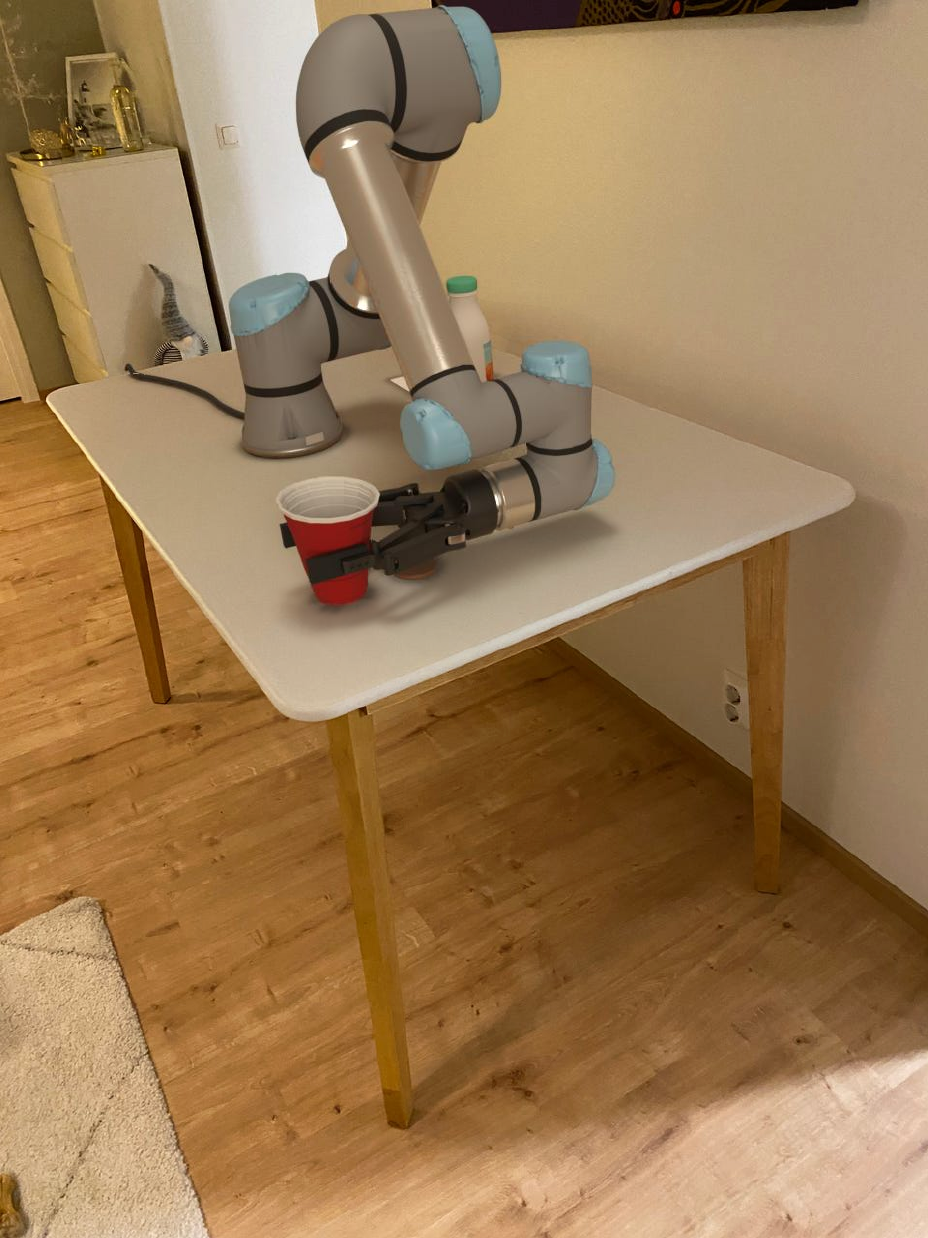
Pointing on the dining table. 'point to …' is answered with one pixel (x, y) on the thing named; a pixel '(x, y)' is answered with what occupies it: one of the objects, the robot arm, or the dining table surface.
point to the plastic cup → (330, 527)
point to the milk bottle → (471, 323)
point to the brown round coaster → (418, 570)
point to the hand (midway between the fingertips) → (295, 553)
